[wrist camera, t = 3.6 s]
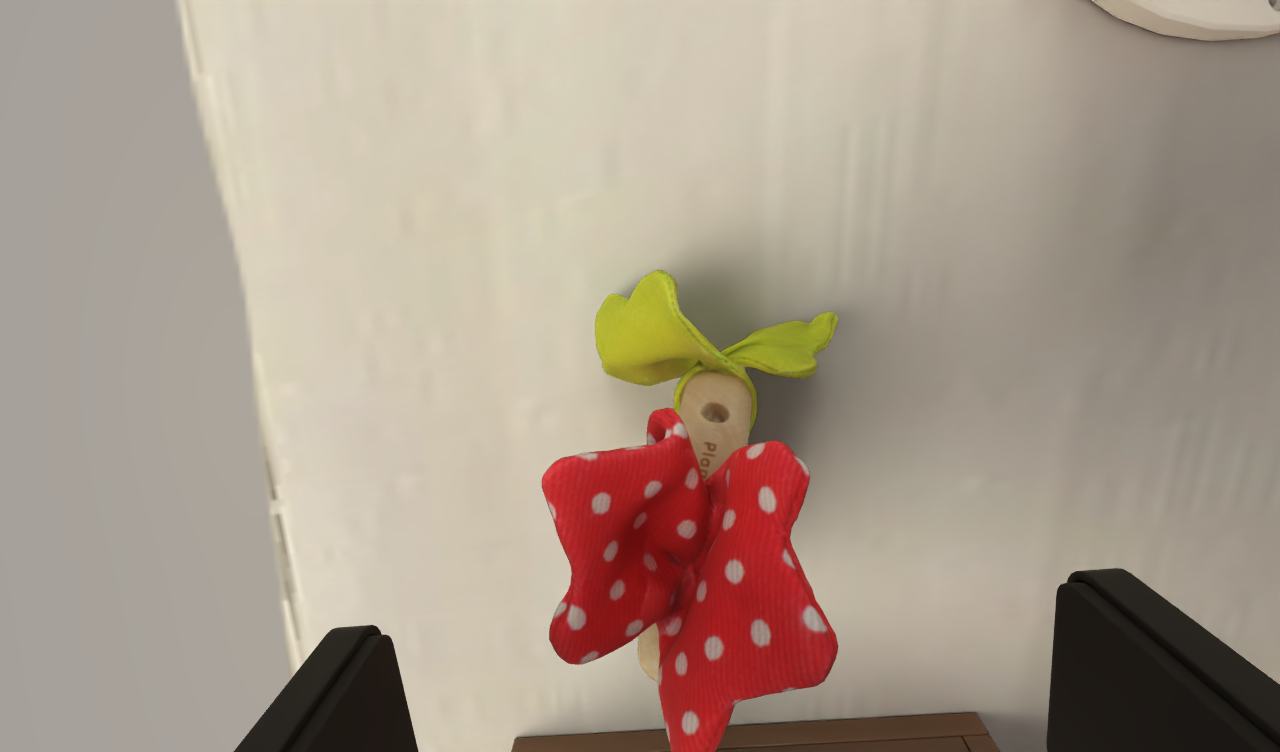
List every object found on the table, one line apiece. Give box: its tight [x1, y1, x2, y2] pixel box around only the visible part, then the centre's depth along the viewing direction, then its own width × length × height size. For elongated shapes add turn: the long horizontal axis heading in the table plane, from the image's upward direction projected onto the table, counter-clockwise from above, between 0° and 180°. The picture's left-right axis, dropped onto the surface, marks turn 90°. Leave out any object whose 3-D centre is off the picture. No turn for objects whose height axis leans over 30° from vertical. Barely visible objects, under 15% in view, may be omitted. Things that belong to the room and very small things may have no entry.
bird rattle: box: [542, 270, 838, 752], centre depth 14 cm, size 6×11×9 cm
